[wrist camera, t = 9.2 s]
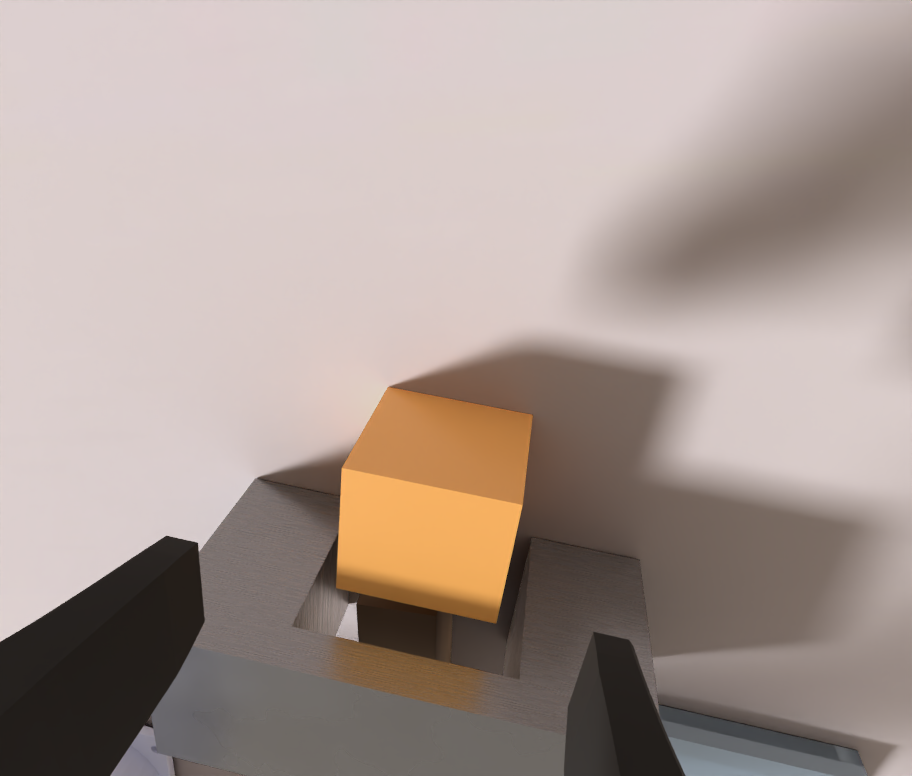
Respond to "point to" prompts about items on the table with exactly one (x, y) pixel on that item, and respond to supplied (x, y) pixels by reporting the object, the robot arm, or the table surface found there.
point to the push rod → (404, 627)
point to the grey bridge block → (377, 660)
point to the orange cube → (433, 503)
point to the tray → (750, 749)
